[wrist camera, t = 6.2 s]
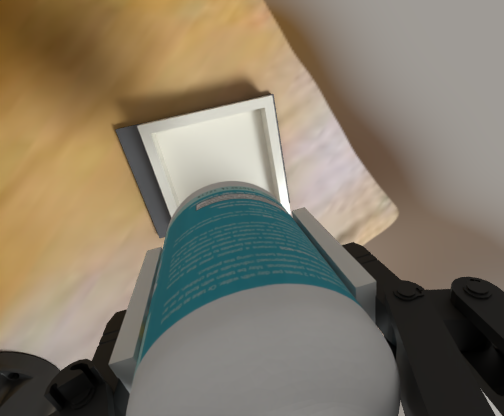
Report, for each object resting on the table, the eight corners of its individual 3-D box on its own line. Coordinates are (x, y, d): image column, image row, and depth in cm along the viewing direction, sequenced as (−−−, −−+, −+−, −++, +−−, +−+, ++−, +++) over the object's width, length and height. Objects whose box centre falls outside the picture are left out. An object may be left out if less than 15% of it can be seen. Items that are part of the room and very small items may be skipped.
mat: (160, 235, 34) (159, 238, 34) (117, 129, 29) (115, 129, 28) (288, 200, 36) (289, 202, 35) (271, 94, 30) (273, 93, 30)
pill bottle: (141, 214, 15) (-161, 819, 2) (258, 154, 14) (579, 448, 2) (206, 300, 18) (223, 747, 5) (302, 251, 18) (535, 593, 5)
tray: (182, 232, 34) (181, 244, 31) (143, 123, 28) (137, 125, 25) (283, 204, 35) (290, 213, 33) (265, 95, 30) (272, 95, 27)
